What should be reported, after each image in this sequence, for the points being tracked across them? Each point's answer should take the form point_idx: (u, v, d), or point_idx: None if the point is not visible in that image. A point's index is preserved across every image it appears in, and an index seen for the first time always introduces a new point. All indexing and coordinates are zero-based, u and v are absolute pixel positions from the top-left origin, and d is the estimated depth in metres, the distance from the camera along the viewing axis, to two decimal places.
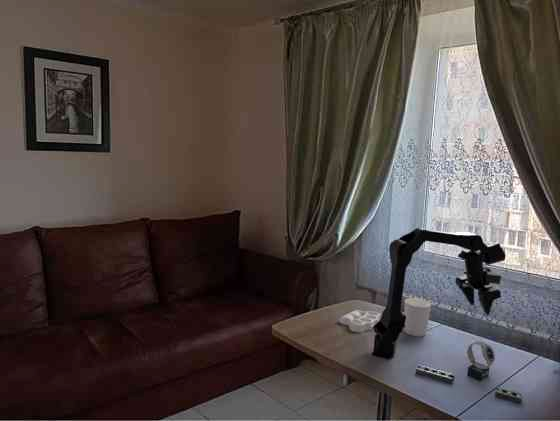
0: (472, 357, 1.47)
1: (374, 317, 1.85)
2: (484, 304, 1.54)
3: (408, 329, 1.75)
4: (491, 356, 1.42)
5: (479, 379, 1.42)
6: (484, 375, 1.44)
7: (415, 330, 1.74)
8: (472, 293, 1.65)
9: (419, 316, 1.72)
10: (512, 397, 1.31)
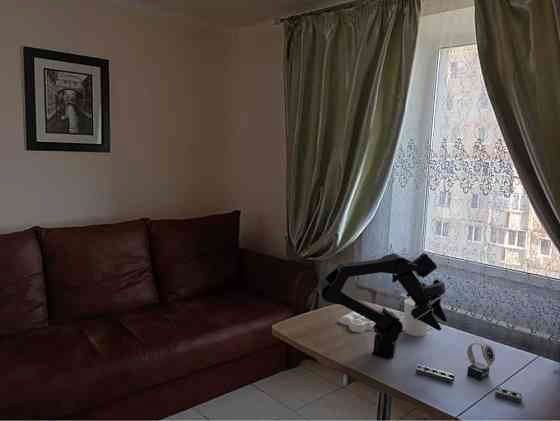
0: (472, 357, 1.47)
1: None
2: (425, 321, 1.47)
3: (408, 329, 1.75)
4: (491, 356, 1.42)
5: (479, 379, 1.42)
6: (484, 375, 1.44)
7: (415, 330, 1.74)
8: (439, 309, 1.55)
9: None
10: (512, 397, 1.31)
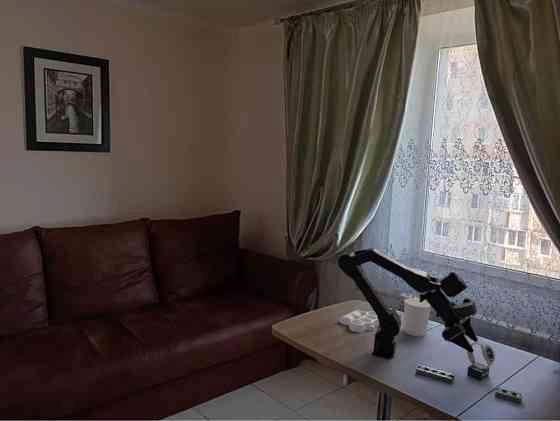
0: (472, 357, 1.47)
1: (374, 317, 1.85)
2: (456, 343, 1.42)
3: (408, 329, 1.75)
4: (491, 356, 1.42)
5: (479, 379, 1.42)
6: (484, 375, 1.44)
7: (415, 330, 1.74)
8: (469, 329, 1.50)
9: (419, 316, 1.72)
10: (512, 397, 1.31)
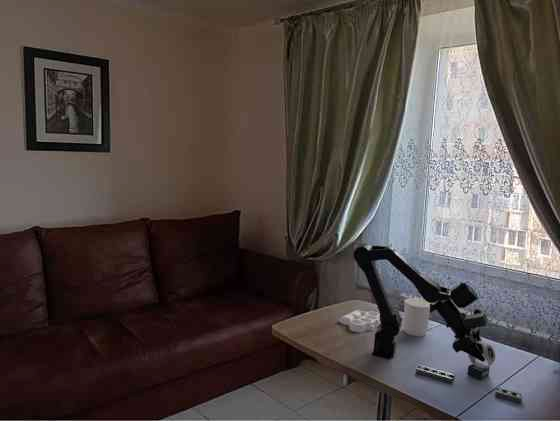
0: (472, 356, 1.47)
1: (374, 317, 1.84)
2: (468, 352, 1.42)
3: (408, 329, 1.75)
4: (492, 355, 1.42)
5: (479, 378, 1.42)
6: (484, 375, 1.44)
7: (415, 330, 1.74)
8: None
9: (419, 316, 1.72)
10: (512, 397, 1.31)
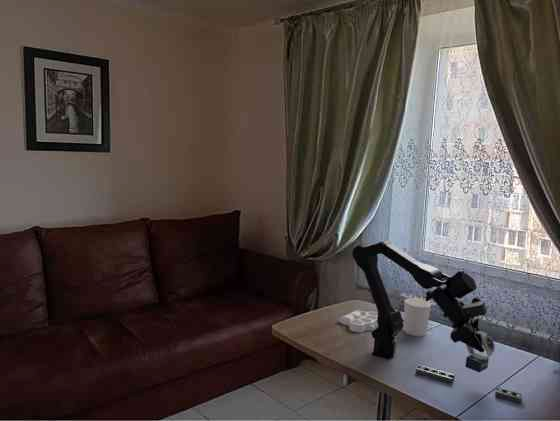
0: (471, 347, 1.40)
1: (374, 317, 1.84)
2: (466, 342, 1.35)
3: (408, 329, 1.75)
4: (491, 346, 1.36)
5: (478, 370, 1.35)
6: (483, 366, 1.37)
7: (415, 330, 1.74)
8: None
9: (419, 316, 1.72)
10: (512, 397, 1.31)
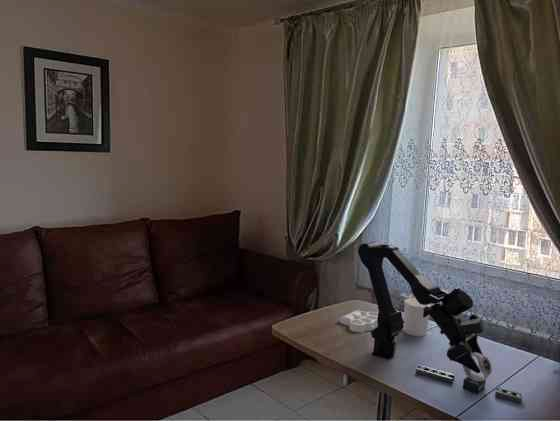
0: (467, 369, 1.39)
1: (375, 317, 1.84)
2: (462, 363, 1.33)
3: (408, 329, 1.75)
4: (488, 368, 1.34)
5: (476, 392, 1.34)
6: (481, 388, 1.36)
7: (415, 330, 1.74)
8: (476, 347, 1.41)
9: (419, 316, 1.72)
10: (512, 397, 1.31)
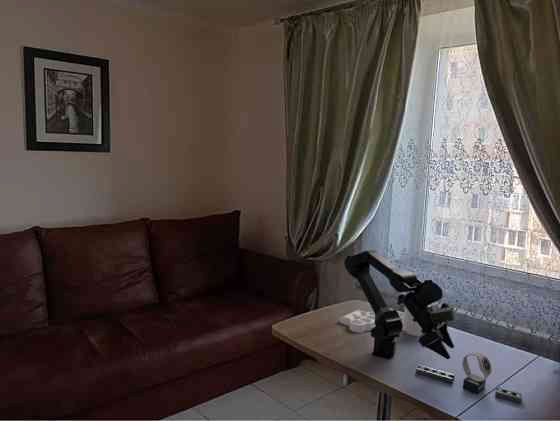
0: (467, 369, 1.39)
1: None
2: (433, 349, 1.37)
3: (408, 329, 1.75)
4: (488, 368, 1.34)
5: (476, 392, 1.34)
6: (481, 388, 1.36)
7: (415, 330, 1.74)
8: (446, 335, 1.46)
9: None
10: (512, 397, 1.31)
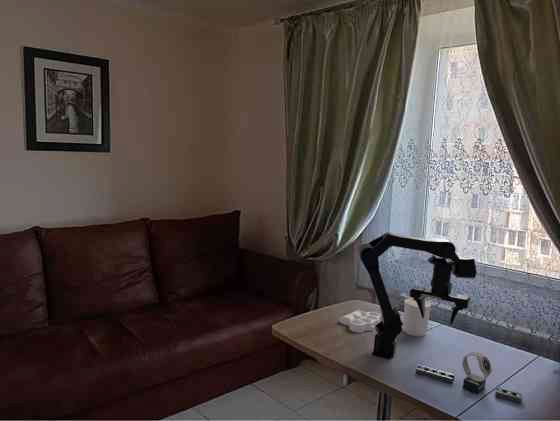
0: (467, 369, 1.39)
1: (375, 318, 1.84)
2: (456, 313, 1.50)
3: (408, 329, 1.75)
4: (488, 368, 1.34)
5: (476, 392, 1.34)
6: (481, 388, 1.36)
7: (415, 330, 1.74)
8: (424, 305, 1.58)
9: (419, 316, 1.72)
10: (512, 397, 1.31)
